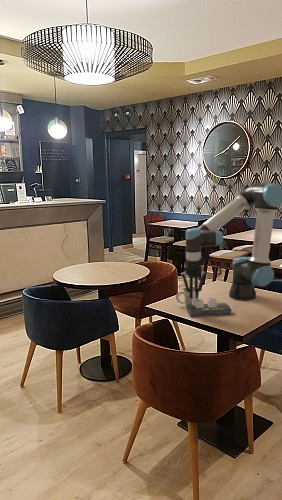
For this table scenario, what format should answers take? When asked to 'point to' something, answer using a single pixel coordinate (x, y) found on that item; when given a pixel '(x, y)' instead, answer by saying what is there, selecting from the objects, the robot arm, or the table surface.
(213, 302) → the toggle
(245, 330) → the table surface
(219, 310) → the console
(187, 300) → the mug
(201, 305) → the toggle
